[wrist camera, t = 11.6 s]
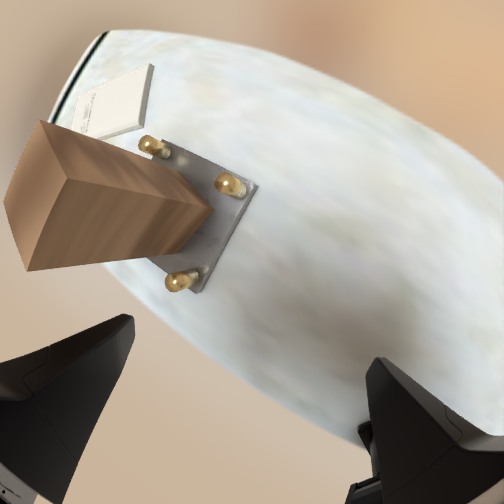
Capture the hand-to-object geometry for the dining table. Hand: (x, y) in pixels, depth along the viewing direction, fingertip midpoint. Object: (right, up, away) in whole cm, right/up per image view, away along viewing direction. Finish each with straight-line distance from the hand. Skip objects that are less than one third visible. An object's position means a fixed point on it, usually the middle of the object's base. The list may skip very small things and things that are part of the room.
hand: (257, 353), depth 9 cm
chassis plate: (-6, +7, +14) cm, 17 cm away
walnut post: (-7, +7, +13) cm, 16 cm away
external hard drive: (-17, +20, +17) cm, 32 cm away
